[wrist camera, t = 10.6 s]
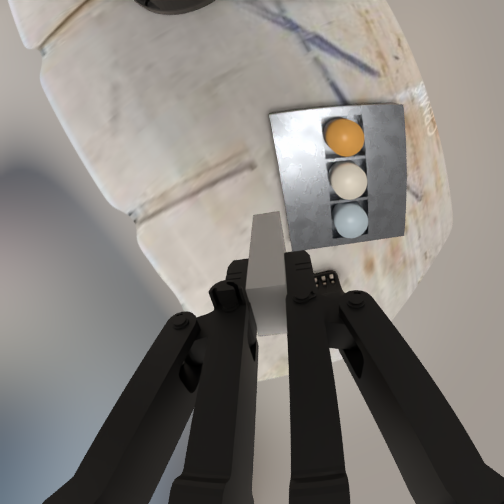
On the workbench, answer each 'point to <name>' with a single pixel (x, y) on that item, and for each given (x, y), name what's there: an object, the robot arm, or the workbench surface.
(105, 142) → the workbench surface
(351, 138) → the orange button
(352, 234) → the pale blue button
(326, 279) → the battery charger
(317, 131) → the panel
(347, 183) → the ivory button
